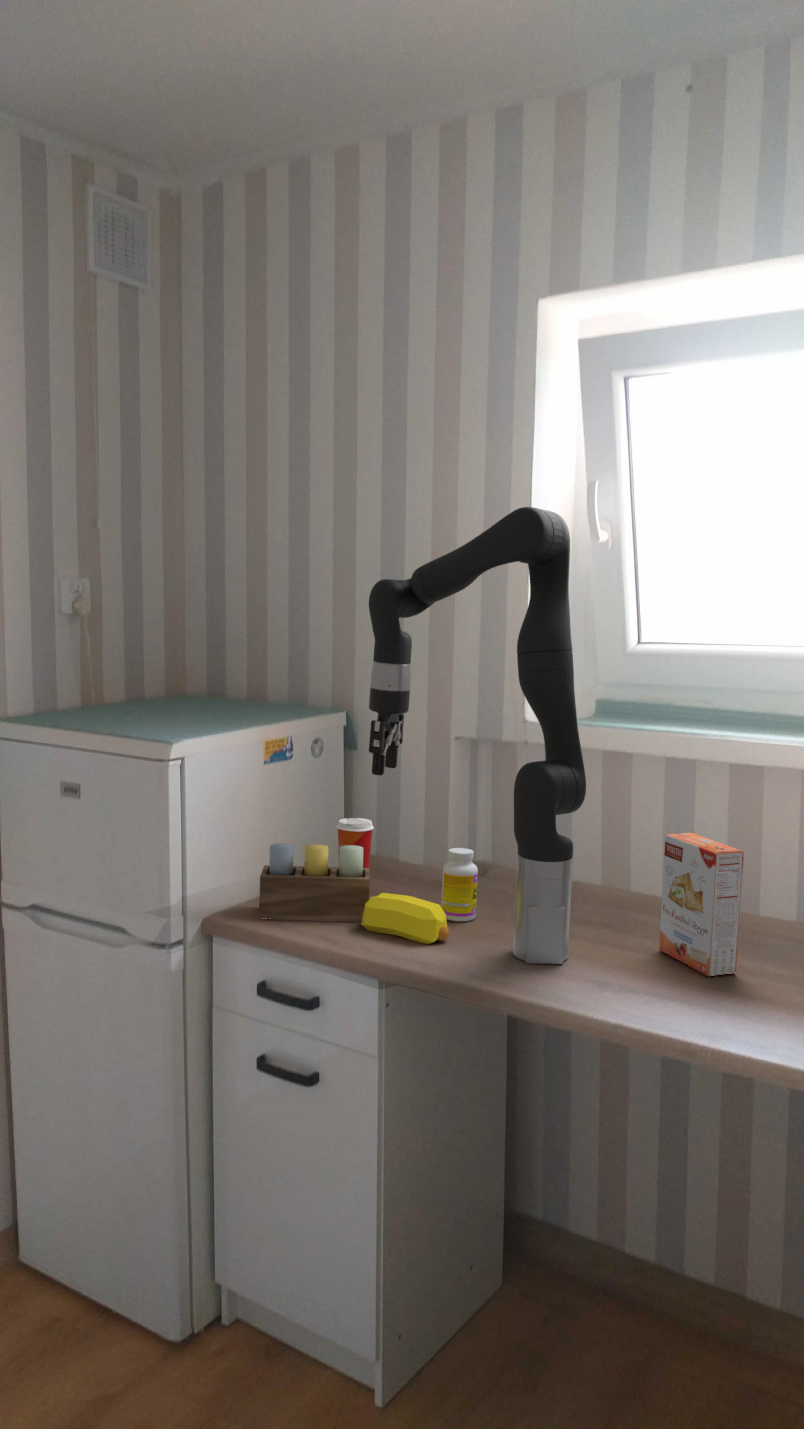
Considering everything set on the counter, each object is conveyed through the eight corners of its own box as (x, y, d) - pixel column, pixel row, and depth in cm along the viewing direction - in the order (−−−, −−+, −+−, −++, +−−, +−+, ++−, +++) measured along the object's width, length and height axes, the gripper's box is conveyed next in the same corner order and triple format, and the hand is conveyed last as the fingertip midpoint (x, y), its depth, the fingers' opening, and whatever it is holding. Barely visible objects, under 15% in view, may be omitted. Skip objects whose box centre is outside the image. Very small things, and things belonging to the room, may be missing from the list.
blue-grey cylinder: (291, 881, 194) (292, 849, 194) (268, 880, 194) (268, 848, 194) (293, 875, 199) (294, 843, 198) (270, 874, 199) (270, 843, 198)
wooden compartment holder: (368, 921, 194) (369, 879, 193) (259, 919, 193) (260, 876, 192) (368, 908, 202) (369, 868, 201) (263, 906, 201) (264, 865, 200)
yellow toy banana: (436, 950, 180) (458, 939, 186) (438, 912, 179) (460, 902, 185) (350, 930, 189) (374, 920, 196) (351, 893, 188) (375, 884, 195)
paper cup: (330, 883, 219) (332, 817, 218) (366, 882, 221) (368, 816, 220) (339, 894, 212) (341, 825, 210) (376, 892, 214) (378, 824, 213)
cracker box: (656, 951, 182) (663, 832, 180) (685, 948, 185) (693, 831, 182) (706, 978, 169) (715, 851, 167) (737, 975, 172) (746, 849, 169)
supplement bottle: (476, 923, 195) (479, 855, 194) (441, 922, 195) (443, 854, 194) (475, 913, 202) (477, 847, 200) (440, 911, 202) (443, 845, 200)
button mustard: (327, 881, 195) (328, 850, 194) (303, 881, 194) (304, 849, 194) (328, 875, 199) (328, 844, 198) (304, 875, 199) (305, 844, 198)
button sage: (362, 882, 195) (363, 850, 194) (338, 882, 195) (339, 850, 194) (362, 876, 199) (363, 845, 199) (339, 876, 199) (340, 844, 198)
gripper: (398, 692, 190) (392, 780, 192) (419, 685, 204) (413, 767, 206) (359, 687, 192) (353, 775, 194) (382, 681, 205) (376, 763, 208)
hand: (384, 771), depth 200 cm, fingers open, 8 cm apart
